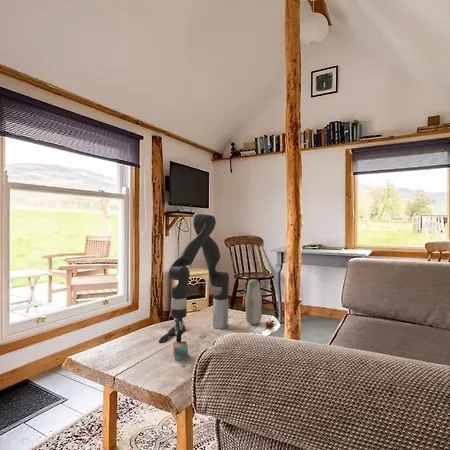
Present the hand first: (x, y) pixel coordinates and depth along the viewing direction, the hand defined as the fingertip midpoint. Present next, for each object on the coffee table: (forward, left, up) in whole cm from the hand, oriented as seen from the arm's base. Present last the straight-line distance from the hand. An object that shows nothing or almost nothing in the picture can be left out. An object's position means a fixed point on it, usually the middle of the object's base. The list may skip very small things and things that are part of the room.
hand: (178, 342), depth 154 cm
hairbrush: (-25, +1, -6) cm, 26 cm away
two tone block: (+1, 0, -2) cm, 3 cm away
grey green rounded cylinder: (-29, +52, -6) cm, 60 cm away
